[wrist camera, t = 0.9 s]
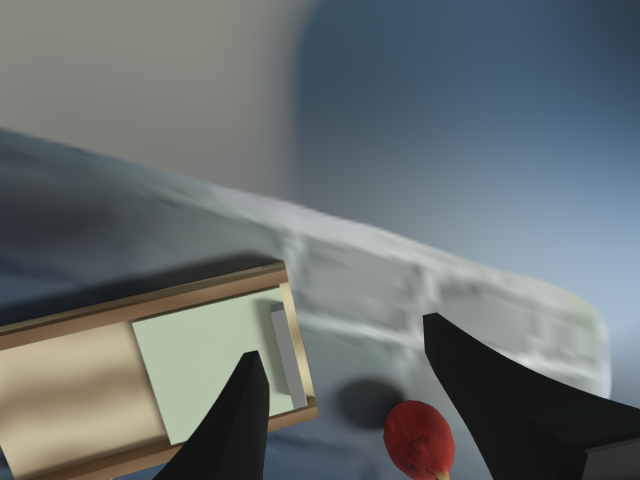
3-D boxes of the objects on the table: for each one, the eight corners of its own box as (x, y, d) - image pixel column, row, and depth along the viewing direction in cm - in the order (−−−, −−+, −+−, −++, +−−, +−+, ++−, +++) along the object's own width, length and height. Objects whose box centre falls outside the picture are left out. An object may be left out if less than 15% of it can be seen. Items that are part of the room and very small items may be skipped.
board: (313, 392, 29) (319, 416, 26) (40, 470, 26) (6, 509, 23) (284, 261, 27) (285, 269, 23) (-18, 330, 24) (-64, 351, 21)
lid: (305, 396, 27) (309, 419, 24) (176, 433, 25) (164, 462, 22) (279, 283, 25) (280, 294, 22) (138, 316, 24) (121, 332, 21)
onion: (370, 438, 30) (404, 521, 23) (374, 384, 30) (411, 451, 22) (425, 433, 31) (475, 512, 24) (430, 381, 31) (484, 444, 23)
